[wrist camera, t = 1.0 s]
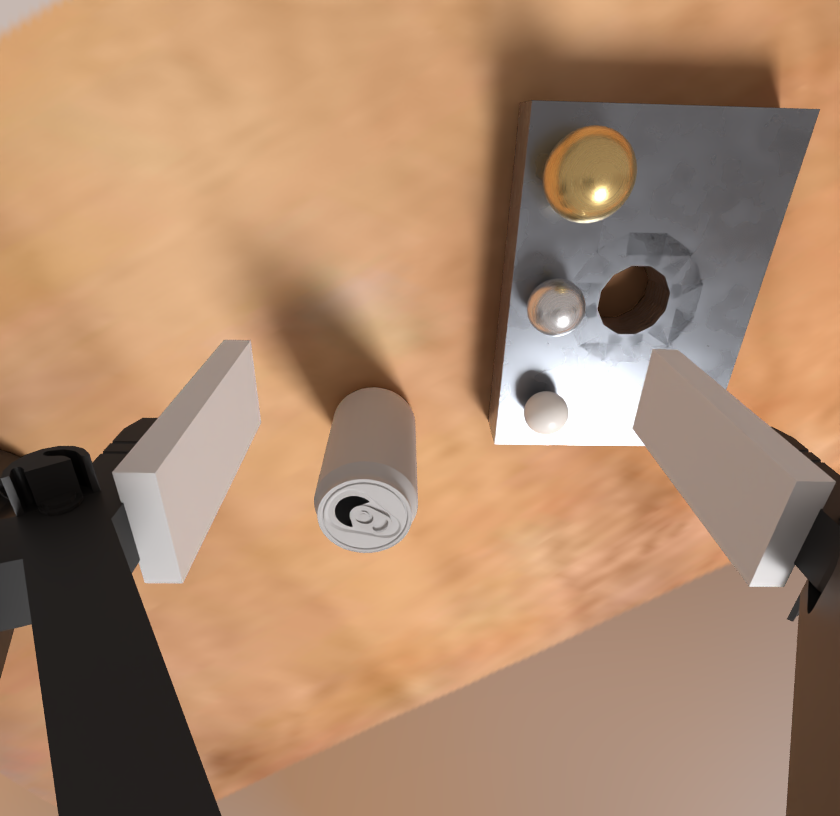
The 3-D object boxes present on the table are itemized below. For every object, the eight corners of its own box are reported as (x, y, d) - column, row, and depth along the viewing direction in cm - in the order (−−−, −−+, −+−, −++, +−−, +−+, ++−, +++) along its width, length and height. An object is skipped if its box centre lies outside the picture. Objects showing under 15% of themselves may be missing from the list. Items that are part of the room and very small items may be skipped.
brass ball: (529, 215, 31) (548, 229, 27) (540, 123, 29) (562, 123, 25) (609, 217, 32) (640, 231, 27) (626, 126, 29) (662, 126, 25)
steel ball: (519, 325, 35) (529, 344, 32) (525, 271, 33) (537, 286, 30) (571, 325, 35) (587, 345, 32) (580, 272, 33) (598, 287, 30)
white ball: (517, 420, 38) (525, 443, 36) (522, 383, 37) (531, 403, 34) (558, 421, 38) (570, 443, 36) (565, 384, 37) (577, 404, 34)
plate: (488, 420, 42) (494, 444, 39) (520, 102, 32) (532, 100, 29) (685, 423, 43) (707, 446, 40) (780, 110, 32) (819, 109, 29)
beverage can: (357, 368, 40) (339, 457, 29) (430, 406, 41) (438, 502, 31) (321, 431, 42) (292, 534, 32) (391, 464, 44) (385, 572, 33)
